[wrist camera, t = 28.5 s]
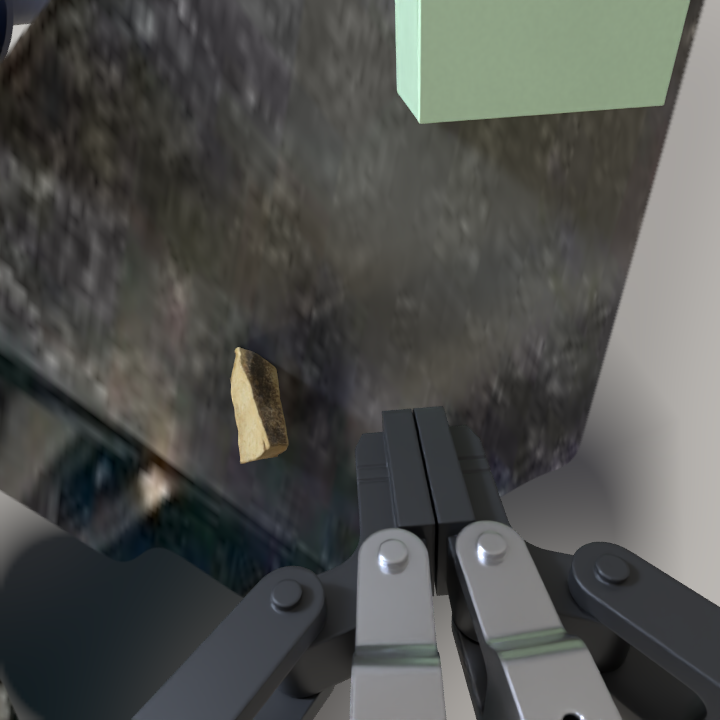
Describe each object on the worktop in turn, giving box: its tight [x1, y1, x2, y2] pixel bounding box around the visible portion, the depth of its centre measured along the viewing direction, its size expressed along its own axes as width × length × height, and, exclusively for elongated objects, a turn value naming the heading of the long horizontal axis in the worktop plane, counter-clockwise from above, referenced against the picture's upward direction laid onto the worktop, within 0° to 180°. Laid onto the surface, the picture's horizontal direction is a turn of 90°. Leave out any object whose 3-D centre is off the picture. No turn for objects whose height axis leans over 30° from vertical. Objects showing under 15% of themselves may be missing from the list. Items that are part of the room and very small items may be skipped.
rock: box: [230, 347, 288, 464], centre depth 54 cm, size 11×9×10 cm
